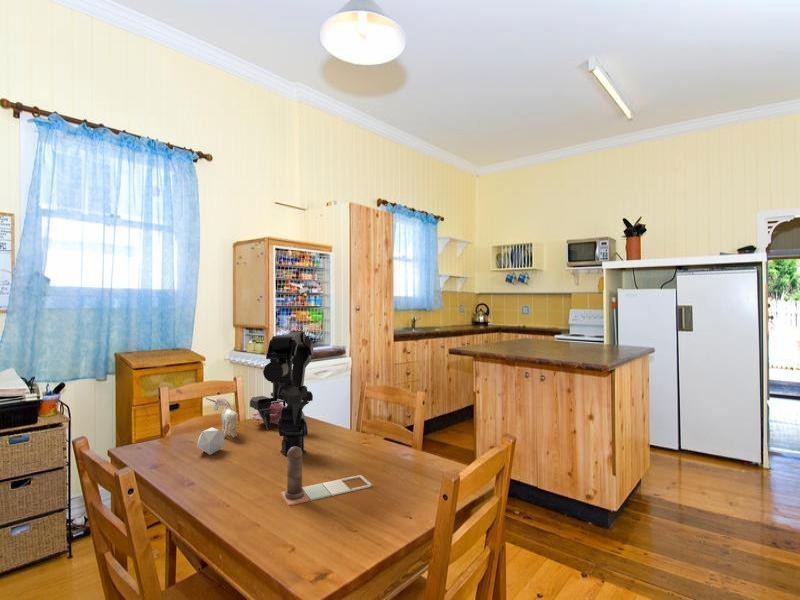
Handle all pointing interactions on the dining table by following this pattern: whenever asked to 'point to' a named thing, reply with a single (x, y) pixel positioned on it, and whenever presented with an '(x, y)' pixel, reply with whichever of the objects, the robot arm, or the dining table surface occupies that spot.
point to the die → (211, 440)
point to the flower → (272, 413)
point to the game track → (325, 490)
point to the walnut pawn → (294, 474)
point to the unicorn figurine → (226, 416)
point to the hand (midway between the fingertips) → (282, 427)
